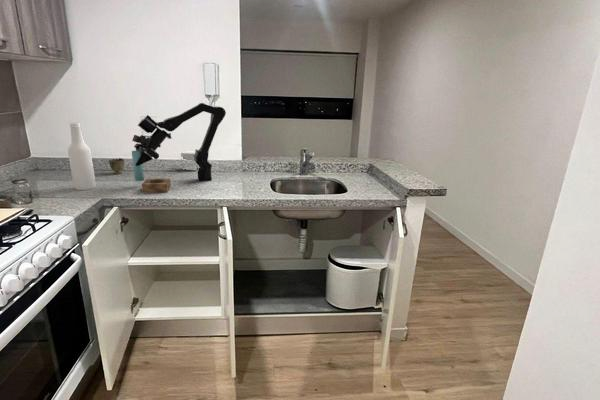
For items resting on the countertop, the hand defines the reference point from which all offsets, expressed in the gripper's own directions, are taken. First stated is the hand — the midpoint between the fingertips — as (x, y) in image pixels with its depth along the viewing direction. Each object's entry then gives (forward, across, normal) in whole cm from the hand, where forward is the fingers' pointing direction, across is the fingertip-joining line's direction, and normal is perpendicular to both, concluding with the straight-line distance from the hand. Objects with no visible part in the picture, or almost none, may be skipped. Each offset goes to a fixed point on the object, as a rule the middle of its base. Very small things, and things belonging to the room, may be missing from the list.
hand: (134, 164), depth 164 cm
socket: (+4, +11, +12) cm, 16 cm away
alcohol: (+22, -11, -6) cm, 25 cm away
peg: (+4, 0, +6) cm, 8 cm away
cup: (+8, -34, +8) cm, 36 cm away
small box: (-18, -21, +34) cm, 44 cm away
